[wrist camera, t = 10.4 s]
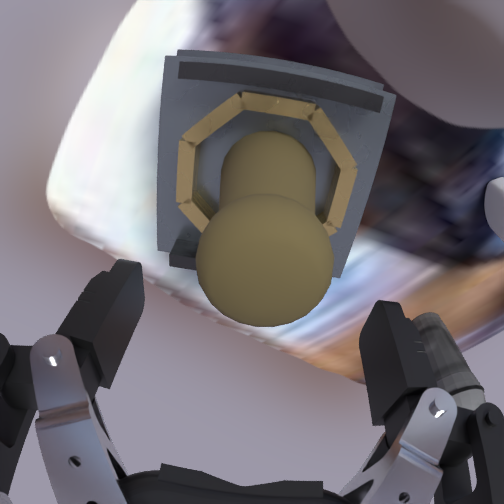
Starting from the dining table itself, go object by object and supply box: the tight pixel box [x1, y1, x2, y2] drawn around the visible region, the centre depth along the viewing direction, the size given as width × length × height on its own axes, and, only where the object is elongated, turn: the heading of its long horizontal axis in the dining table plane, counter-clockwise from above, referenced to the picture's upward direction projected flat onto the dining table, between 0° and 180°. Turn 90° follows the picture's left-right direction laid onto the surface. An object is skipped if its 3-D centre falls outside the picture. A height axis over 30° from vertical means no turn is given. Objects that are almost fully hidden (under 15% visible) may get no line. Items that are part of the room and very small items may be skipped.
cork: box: [196, 131, 334, 327], centre depth 15 cm, size 6×6×11 cm
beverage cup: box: [412, 312, 486, 411], centre depth 25 cm, size 7×7×20 cm
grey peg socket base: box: [157, 50, 396, 278], centre depth 21 cm, size 15×15×7 cm
